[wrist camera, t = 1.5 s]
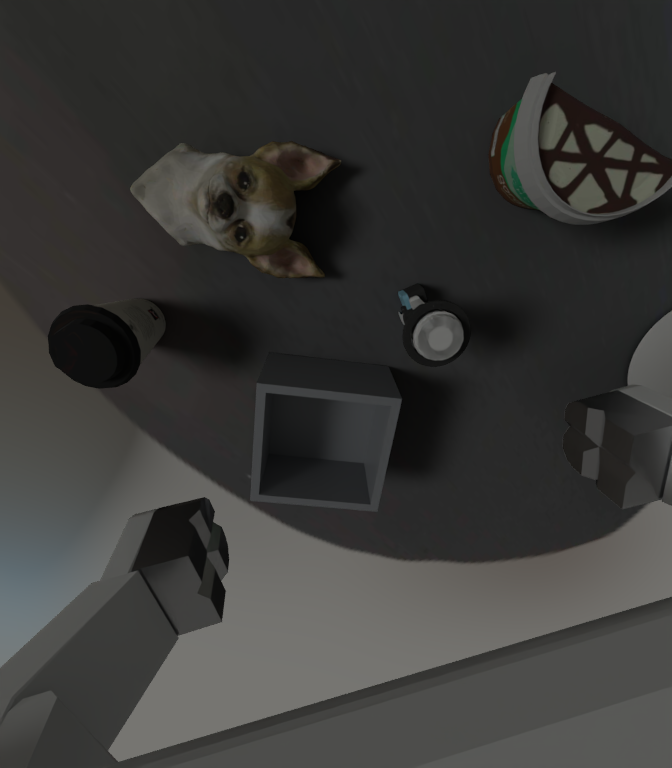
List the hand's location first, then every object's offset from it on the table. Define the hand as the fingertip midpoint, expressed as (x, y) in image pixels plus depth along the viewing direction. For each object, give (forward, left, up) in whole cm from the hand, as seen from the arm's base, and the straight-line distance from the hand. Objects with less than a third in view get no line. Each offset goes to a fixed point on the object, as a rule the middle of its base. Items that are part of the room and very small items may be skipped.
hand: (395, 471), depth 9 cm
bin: (0, +15, -31) cm, 35 cm away
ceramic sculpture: (+9, -5, -32) cm, 33 cm away
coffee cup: (+19, +7, -31) cm, 37 cm away
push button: (-8, +3, -31) cm, 32 cm away
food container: (-15, -10, -31) cm, 36 cm away
